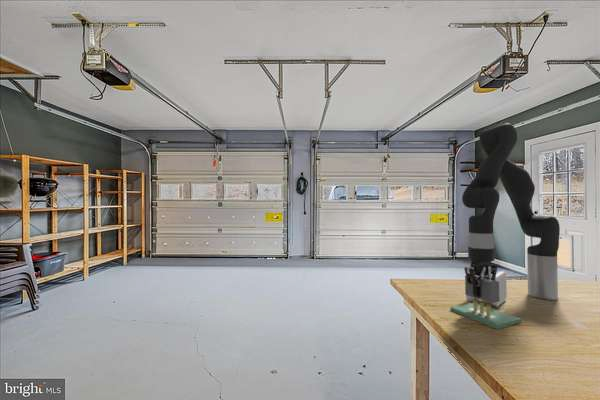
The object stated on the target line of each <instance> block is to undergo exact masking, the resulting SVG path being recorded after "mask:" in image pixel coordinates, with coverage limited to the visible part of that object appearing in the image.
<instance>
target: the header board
mask: <svg viewBox="0 0 600 400" xmlns="http://www.w3.org/2000/svg"><path fill="white" fill-rule="evenodd" d="M491 306H492V304H490V303H488V304H485V303H484V301H483V302H482V301H479V303H478V299H475V300H473V301H470V302H466V303H464V304H458V305H454V306H450V311H451V312H454V313H457V314H458V315H461V316H464V317H466V318H469V319H471V320H473V321H476V322H478V323H481V324H483V325H486V326H489V327H490V328H493V329H495V330H500V329H503V328H506V327H510V326H513V325H516V324H521V323H522V318H521V317H518V316H514V315H512V314H509V313H507V312H502V311H500V310H497V309H495V308H491Z"/></svg>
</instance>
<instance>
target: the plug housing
mask: <svg viewBox="0 0 600 400" xmlns="http://www.w3.org/2000/svg"><path fill="white" fill-rule="evenodd" d="M477 277H479V276H477ZM471 281H472V279H471ZM476 281H478V279H476ZM464 285H465V286H464V287H465V288H464V289H465V290H464V291H465V293H464V294H465V296H466V295H468V296H471V297H474V298H476V300H479V299H480V300H481V301H483V302H485V303H488V304H492V303H494V302H499V282H498V281H494V280H491V279H487V278H483V280H481V285H480V287H481V297H479V298H478V297H475V296H473V285H472V284H468V282H467V278H466V276H465V275H464ZM480 300H479V301H480Z"/></svg>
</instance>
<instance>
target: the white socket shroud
mask: <svg viewBox="0 0 600 400" xmlns="http://www.w3.org/2000/svg"><path fill="white" fill-rule="evenodd" d="M465 276H466V274H465V275H464V277H465ZM475 276H477V275H475ZM491 278H492V277H491ZM495 281H498V282H499V302H494V303H491V305H492V306H494V307H495V308H498V307H499V306H501V304H503V303H504V302H505V301H506V299H507V295H508V291H507V290H508V289H507V288H508V287H507V284H508V283H507V272H506V271H504V270H503V271H502V270H500V271H498V272H496V278H495ZM465 298H466V300H467V301H470V302H474V300H477V298H474V297H471V296H468V295H465ZM478 300H479V301H480V299H478Z"/></svg>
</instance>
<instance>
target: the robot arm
mask: <svg viewBox="0 0 600 400" xmlns="http://www.w3.org/2000/svg"><path fill="white" fill-rule="evenodd" d="M478 136H479V137H478V138H479V143H480V146H481V147H482V149H483V151H484V153H485V155H486V156H487V157H485V159H483V160H482V162H481V163H480V164H479V166H478V168H477V170H476V174H475V176H474V179H472V180H471V182H470V183H469V185H468V186H467V187H466V188H465V189H464V191H463V193H462V197H461V200H462V204H463V206H464V207H466V208H468V209H484V210H483V213H480V214H475V215H471V216H469V217H468V237H467V257H468V259H470V261H471V262H470V266H469V267H467V266H465V267H464V273H465V275H466V278H467V282H468V284H472V285H473V296H475V297H478V298H479V297H481V287H480V285H481V280H483V278H487V279H491V280H494V281H495V278H496V274H497V273H498V265H497V264H492V262H494V261H495V260H496V259H495V237H494V218H495V215H496V214H495V213H496V211H497V207H498V205H499V202H500V193H499V191H498V190H497V189H496V186H497V185H498V183H499V179H500V182H501V184H502V186H503V188H504V190H505V192H506V194H507V196H508V197H509V200H510V202H511V204H512V206H513V208H514V211H515V214H516V216H517V220H518V223H519V225H520V227H521V230H522V232H523V233H524V235H526V236H528V237H531V238H537V239H540V242H539V243H537V244H534V245H529V246H527V249H526V250H527V251H526V254H527V255H526V257H527V261H526V262H527V294H528V295H529V296H530V297H533V298H537V299H542V300H547V301H557V300H558V299H559V289H558V288H559V286H558V281H559V280H558V279H559V277H558V252H559V248H560V231H561V230H560V229H561V227H560V222H559V220H558V219H557V218H556V217H554V216H551V215H536V214H535V213H534V212H533V210H532V207H531V202H532V200H533V198H534V197H533V196H534V194H535V190H536V187H535V183H534V181H533V179H532V177H531V175H530V173H529V172H528V171H527V170H525V169H524V168H523V167H522V166H520V165H519V164H516V163H515V162H513V161H511V160H510V159H509V156H510V154H511V153H512V152H513V149H514V148H515V146H516V143H517V140H518V132H517V129H516V127H515V126H514V125H513V124H511V123H509V122H507V123H502V124H500V125H496V126H494V127H491V128H488V129H485V130H483V131H481V132H480V134H479V135H478ZM475 275H477V276H479V277H477V276H475ZM491 277H492V278H491ZM471 279H472V281H471ZM476 279H478V281H476Z"/></svg>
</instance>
